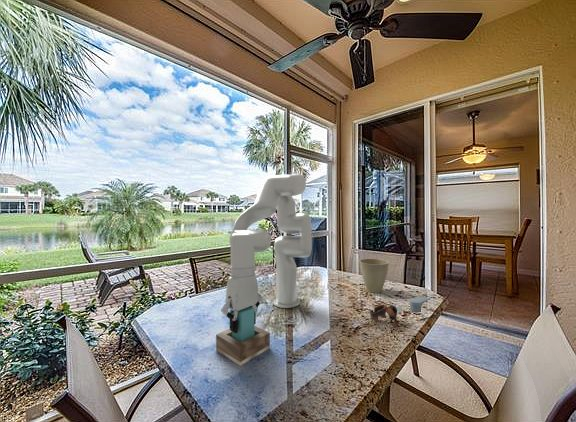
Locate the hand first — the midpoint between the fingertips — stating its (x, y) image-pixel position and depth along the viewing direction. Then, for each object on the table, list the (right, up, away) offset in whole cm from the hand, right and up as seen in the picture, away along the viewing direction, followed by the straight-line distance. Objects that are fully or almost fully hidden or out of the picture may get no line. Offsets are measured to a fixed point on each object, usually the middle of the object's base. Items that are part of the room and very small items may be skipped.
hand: (243, 326), depth 81 cm
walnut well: (0, -7, 0) cm, 7 cm away
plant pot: (+61, -6, +56) cm, 83 cm away
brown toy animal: (+52, -7, +18) cm, 56 cm away
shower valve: (+70, -7, +29) cm, 76 cm away
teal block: (0, -6, 0) cm, 6 cm away
